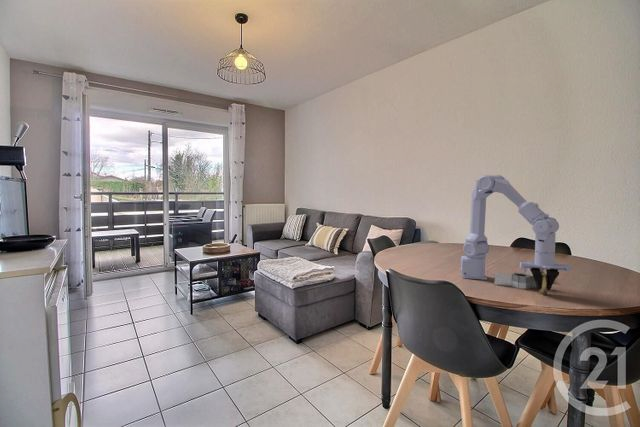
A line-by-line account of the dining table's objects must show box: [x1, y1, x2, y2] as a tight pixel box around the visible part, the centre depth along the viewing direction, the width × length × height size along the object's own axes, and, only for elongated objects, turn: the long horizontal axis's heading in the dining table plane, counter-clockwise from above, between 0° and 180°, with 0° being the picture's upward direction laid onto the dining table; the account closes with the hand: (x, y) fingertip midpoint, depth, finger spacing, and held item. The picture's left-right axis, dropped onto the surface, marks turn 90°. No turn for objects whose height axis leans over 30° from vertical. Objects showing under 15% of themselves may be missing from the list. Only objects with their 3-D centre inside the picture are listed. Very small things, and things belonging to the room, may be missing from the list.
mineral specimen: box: [521, 268, 546, 276], centre depth 128 cm, size 13×7×6 cm, turn 172°
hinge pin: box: [538, 273, 549, 296], centre depth 108 cm, size 2×2×7 cm
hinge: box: [493, 272, 537, 290], centre depth 116 cm, size 17×6×4 cm, turn 69°
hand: (543, 289), depth 108 cm, fingers closed on hinge pin, 2 cm apart
